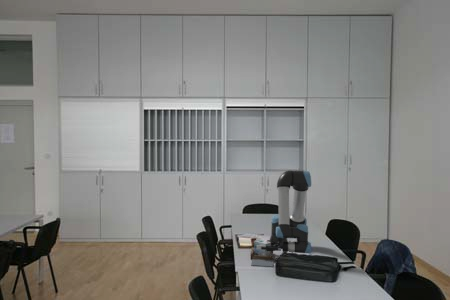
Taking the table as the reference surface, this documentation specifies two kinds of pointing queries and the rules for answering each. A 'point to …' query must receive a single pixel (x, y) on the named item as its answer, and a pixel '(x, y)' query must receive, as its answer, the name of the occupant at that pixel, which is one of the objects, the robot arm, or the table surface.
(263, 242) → the light bulb box
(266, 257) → the brown wooden square frame
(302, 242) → the robot arm
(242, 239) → the table surface
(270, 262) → the slate mat
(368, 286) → the table surface
